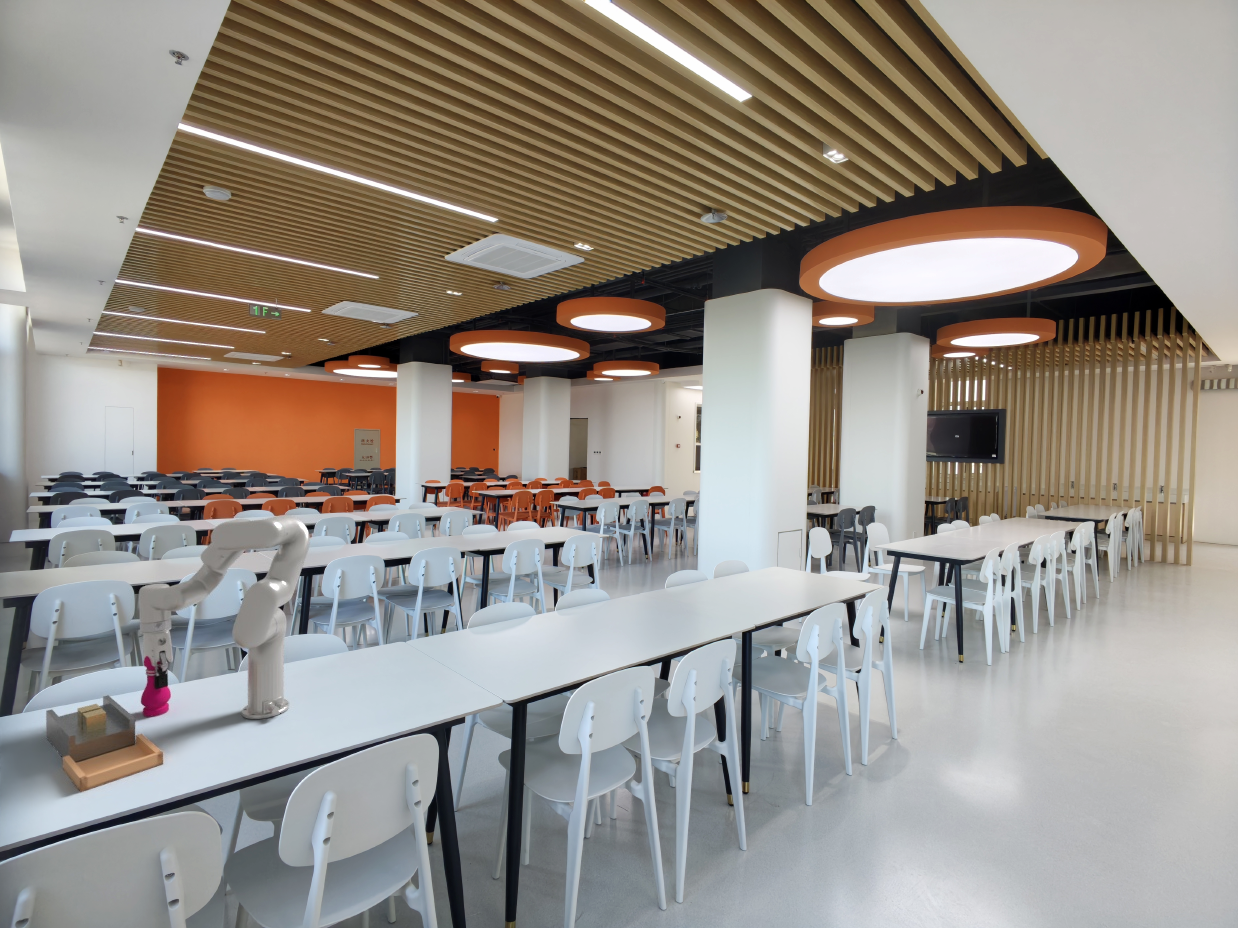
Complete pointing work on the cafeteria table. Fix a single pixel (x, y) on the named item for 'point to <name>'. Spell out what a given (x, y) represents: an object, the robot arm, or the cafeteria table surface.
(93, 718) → the yellow wooden cube
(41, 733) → the cafeteria table surface
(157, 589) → the robot arm
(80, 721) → the yellow tan cube
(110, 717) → the channel bed
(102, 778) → the tray
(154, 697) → the pepper mill
